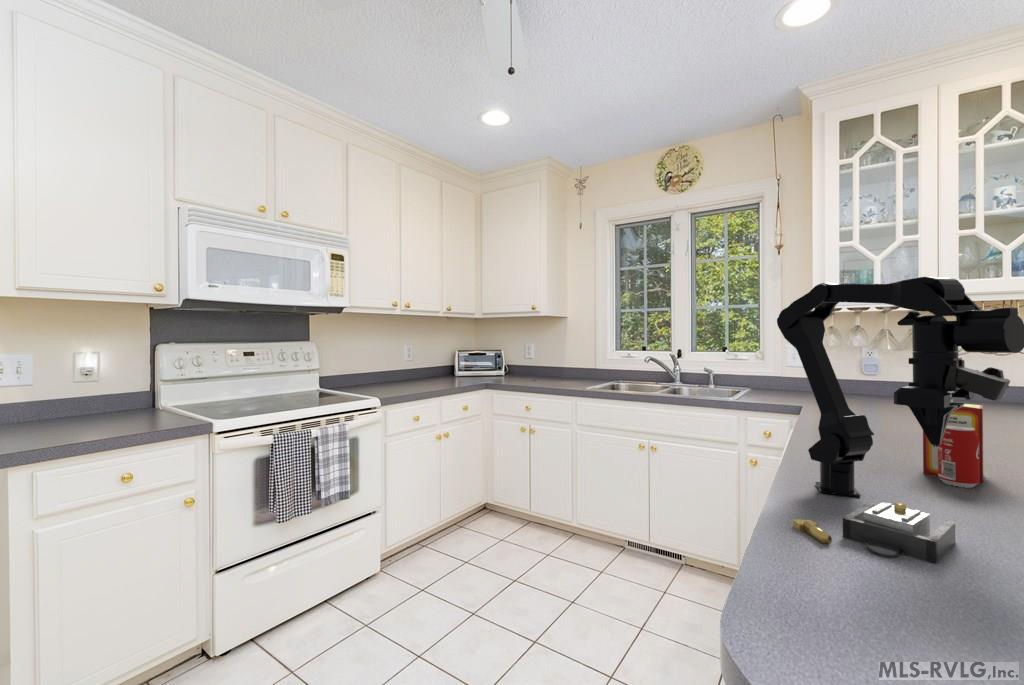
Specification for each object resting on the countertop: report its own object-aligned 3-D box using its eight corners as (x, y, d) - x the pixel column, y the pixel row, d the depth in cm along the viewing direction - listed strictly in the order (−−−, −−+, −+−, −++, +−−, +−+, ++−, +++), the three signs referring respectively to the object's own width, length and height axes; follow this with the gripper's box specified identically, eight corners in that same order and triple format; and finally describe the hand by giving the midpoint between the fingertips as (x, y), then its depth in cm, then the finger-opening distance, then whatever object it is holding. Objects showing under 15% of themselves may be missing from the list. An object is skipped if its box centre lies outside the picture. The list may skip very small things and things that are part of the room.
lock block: (882, 530, 76) (881, 496, 76) (929, 543, 71) (929, 507, 71) (863, 541, 72) (863, 505, 72) (913, 556, 67) (912, 517, 67)
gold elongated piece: (793, 526, 77) (792, 517, 77) (810, 526, 77) (810, 517, 77) (816, 544, 71) (816, 534, 71) (836, 544, 71) (835, 534, 70)
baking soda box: (923, 473, 105) (922, 403, 105) (926, 468, 110) (925, 400, 110) (982, 482, 99) (982, 407, 98) (983, 476, 103) (982, 403, 103)
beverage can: (988, 488, 95) (988, 429, 94) (957, 489, 95) (956, 430, 95) (959, 479, 101) (959, 424, 101) (929, 479, 101) (929, 424, 101)
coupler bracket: (867, 520, 80) (867, 502, 80) (955, 542, 71) (955, 522, 71) (834, 542, 71) (834, 522, 71) (929, 570, 62) (929, 548, 62)
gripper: (989, 354, 66) (990, 464, 66) (1016, 351, 77) (1017, 445, 77) (892, 353, 76) (893, 449, 76) (928, 350, 86) (929, 434, 86)
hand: (935, 444), depth 78 cm, fingers closed
